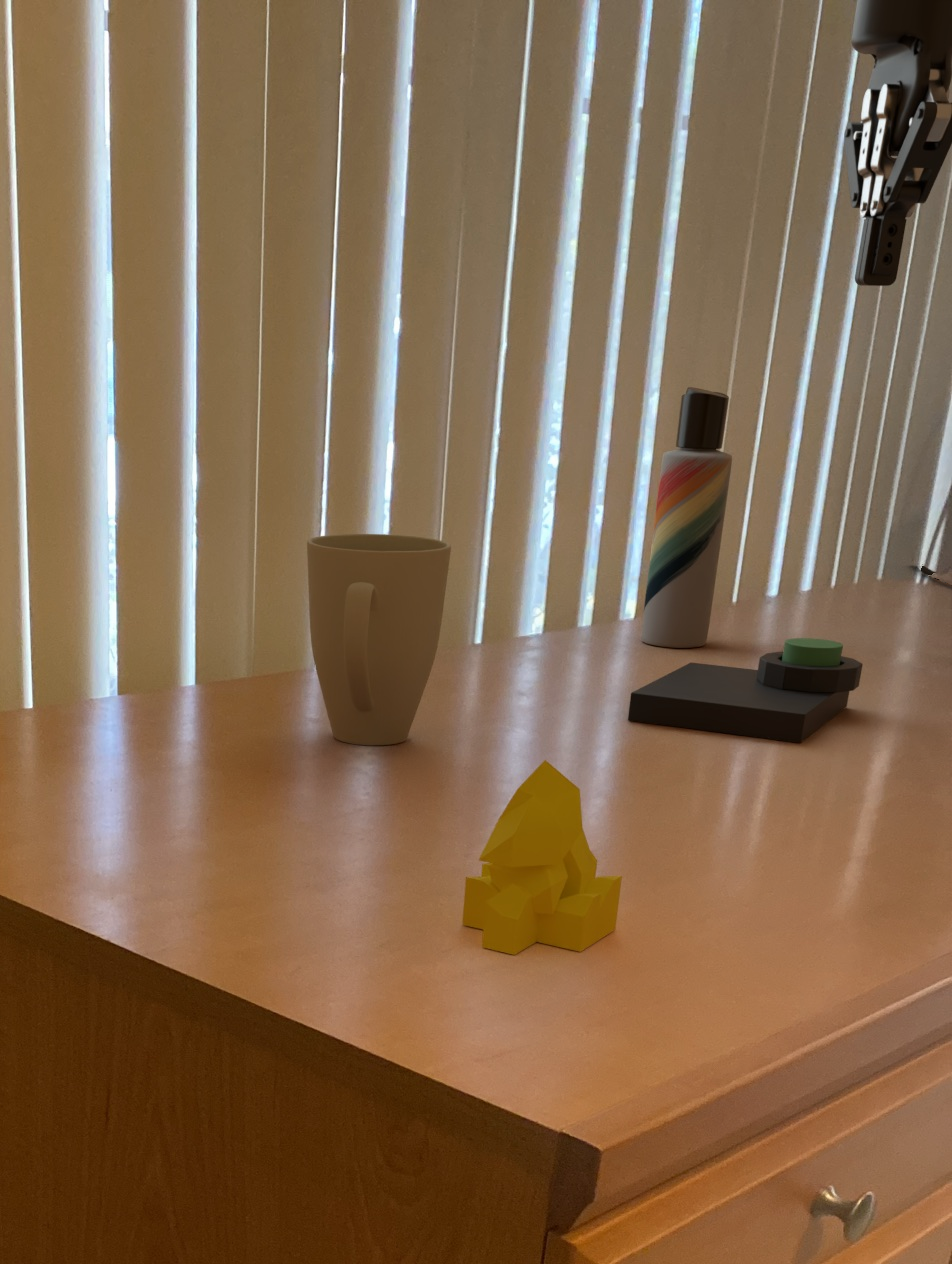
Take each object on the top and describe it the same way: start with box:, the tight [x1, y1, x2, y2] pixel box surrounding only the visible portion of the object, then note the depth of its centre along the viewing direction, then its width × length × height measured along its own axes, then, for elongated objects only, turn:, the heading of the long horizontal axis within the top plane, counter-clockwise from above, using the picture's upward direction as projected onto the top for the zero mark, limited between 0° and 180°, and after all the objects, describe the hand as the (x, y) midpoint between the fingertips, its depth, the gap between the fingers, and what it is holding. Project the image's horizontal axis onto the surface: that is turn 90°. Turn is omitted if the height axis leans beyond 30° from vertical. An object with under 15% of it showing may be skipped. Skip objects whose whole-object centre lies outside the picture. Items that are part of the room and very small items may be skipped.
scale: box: [627, 651, 863, 744], centre depth 115 cm, size 14×13×4 cm
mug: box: [306, 533, 452, 746], centre depth 103 cm, size 11×10×12 cm
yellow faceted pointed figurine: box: [461, 759, 623, 956], centre depth 72 cm, size 6×8×8 cm
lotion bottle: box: [640, 386, 733, 649], centre depth 137 cm, size 6×6×20 cm
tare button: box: [782, 637, 844, 666], centre depth 116 cm, size 4×4×2 cm
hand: (874, 285), depth 105 cm, fingers closed
